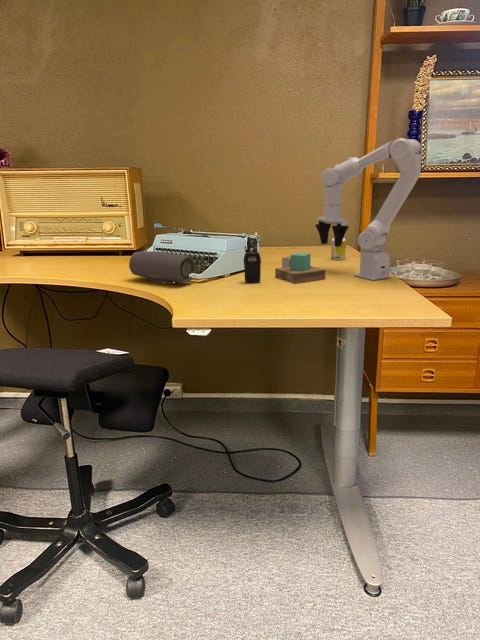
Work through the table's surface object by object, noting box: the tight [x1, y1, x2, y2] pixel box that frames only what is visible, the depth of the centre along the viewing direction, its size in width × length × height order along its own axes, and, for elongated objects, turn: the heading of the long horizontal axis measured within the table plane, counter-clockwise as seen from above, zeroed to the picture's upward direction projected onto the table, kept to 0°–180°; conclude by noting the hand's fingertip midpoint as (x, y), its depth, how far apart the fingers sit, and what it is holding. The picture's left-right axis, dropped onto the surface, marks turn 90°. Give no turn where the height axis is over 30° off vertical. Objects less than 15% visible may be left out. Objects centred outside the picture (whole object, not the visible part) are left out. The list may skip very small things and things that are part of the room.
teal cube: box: [290, 252, 311, 271], centre depth 157 cm, size 5×5×5 cm
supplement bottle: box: [330, 236, 347, 261], centre depth 189 cm, size 6×6×10 cm
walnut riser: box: [274, 265, 327, 284], centre depth 158 cm, size 12×12×3 cm
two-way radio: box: [243, 235, 262, 284], centre depth 153 cm, size 6×4×15 cm
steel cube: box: [281, 256, 291, 268], centre depth 169 cm, size 5×5×5 cm
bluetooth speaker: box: [128, 250, 197, 284], centre depth 157 cm, size 23×9×10 cm, turn 56°
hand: (330, 245), depth 165 cm, fingers open, 7 cm apart
